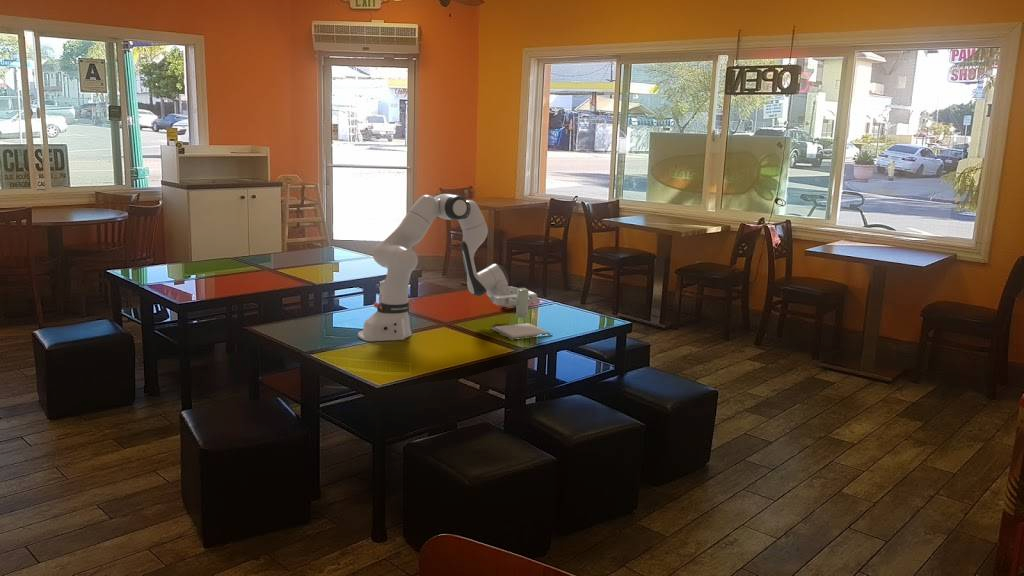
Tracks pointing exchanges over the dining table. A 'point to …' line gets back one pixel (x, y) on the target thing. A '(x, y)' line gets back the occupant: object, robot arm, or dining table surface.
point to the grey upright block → (522, 303)
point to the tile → (519, 330)
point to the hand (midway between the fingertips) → (523, 302)
